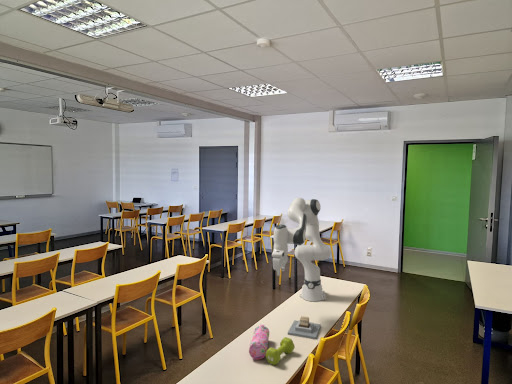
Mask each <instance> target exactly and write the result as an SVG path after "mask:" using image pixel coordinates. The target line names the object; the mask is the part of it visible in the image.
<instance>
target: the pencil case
mask: <svg viewBox="0 0 512 384" xmlns="http://www.w3.org/2000/svg"><path fill="white" fill-rule="evenodd" d="M269 337H270V330H269V328H268V327H266V326H265V324H260V325H258V326H257V327H255V329H254V331H253V335H252V339H251V340H250V343H249V349H248V353H249V356H250V357H251V358H252V359H253V360H255V361H257V360H261V359H263V358H266V356H265V354H266V352H267V350H268V349H269V348H268V347H269V346H268V344H269V339H270V338H269Z"/></svg>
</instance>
